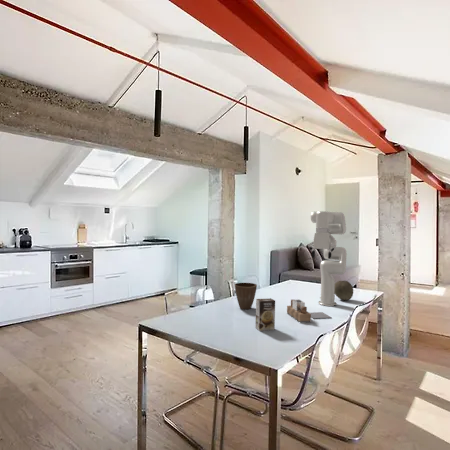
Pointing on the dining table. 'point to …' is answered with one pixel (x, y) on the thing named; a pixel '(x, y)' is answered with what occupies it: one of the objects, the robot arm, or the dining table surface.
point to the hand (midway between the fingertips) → (321, 258)
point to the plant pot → (245, 294)
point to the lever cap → (298, 305)
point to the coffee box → (265, 314)
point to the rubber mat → (319, 315)
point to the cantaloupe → (343, 290)
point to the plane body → (299, 313)
